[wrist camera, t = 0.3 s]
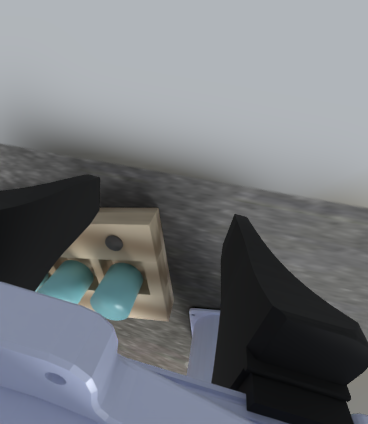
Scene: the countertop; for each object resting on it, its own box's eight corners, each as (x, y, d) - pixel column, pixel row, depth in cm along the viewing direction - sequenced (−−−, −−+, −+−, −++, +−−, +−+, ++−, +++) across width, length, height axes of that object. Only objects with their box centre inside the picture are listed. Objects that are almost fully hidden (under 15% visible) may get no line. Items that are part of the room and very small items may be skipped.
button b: (97, 286, 28) (79, 316, 24) (67, 284, 28) (45, 312, 25) (87, 260, 26) (65, 289, 22) (55, 259, 26) (29, 286, 23)
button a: (146, 290, 26) (133, 322, 23) (113, 287, 27) (96, 318, 24) (139, 263, 24) (124, 294, 21) (104, 261, 25) (84, 291, 22)
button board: (173, 299, 31) (168, 322, 28) (43, 289, 35) (27, 308, 32) (158, 207, 24) (148, 226, 21) (-2, 207, 28) (-29, 222, 25)
